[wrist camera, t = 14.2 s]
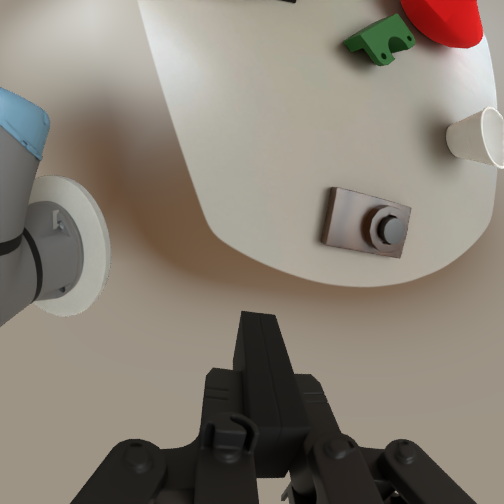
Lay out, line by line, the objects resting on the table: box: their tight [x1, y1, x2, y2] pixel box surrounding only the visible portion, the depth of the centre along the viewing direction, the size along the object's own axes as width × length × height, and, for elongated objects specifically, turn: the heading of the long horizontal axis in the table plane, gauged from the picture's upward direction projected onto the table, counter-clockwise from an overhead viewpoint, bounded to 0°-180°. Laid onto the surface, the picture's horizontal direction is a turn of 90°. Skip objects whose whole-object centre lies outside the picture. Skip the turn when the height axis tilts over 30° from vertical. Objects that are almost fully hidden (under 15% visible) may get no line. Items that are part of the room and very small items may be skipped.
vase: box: [401, 0, 483, 48], centre depth 20 cm, size 18×18×19 cm
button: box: [378, 217, 405, 244], centre depth 34 cm, size 4×4×2 cm
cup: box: [446, 107, 504, 169], centre depth 31 cm, size 10×10×11 cm
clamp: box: [343, 13, 415, 66], centre depth 29 cm, size 12×6×9 cm, turn 128°
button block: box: [321, 187, 411, 258], centre depth 36 cm, size 13×8×4 cm, turn 80°
